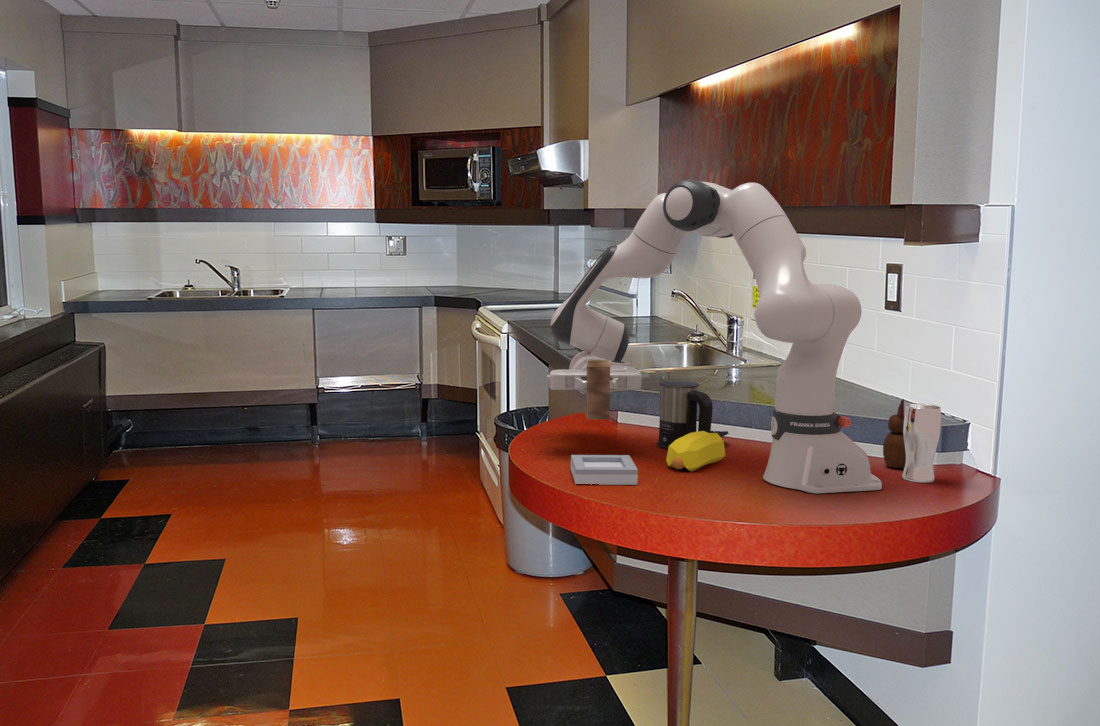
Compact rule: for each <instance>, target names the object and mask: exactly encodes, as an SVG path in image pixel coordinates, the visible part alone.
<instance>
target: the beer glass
mask: <svg viewBox="0 0 1100 726" xmlns="http://www.w3.org/2000/svg"><path fill="white" fill-rule="evenodd" d="M941 410H942V407H941V406H938V405H935V404H929V403H916V402H915V403H907V404H905V408H904V423H903V438H904V447H905V467H904V468H903V471H902V475H901V478H902V479H903V480H906V481H908V482H912V483H919V484H920V483H921V484H928V483H934V481H935V474H934V461H935V456H936V452H937V448H938V446H939V445H938V444H939V441H940V436H941V429H942V428H941V426H942V425H941V424H942V413H941V412H942V411H941Z"/></svg>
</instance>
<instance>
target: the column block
mask: <svg viewBox="0 0 1100 726" xmlns="http://www.w3.org/2000/svg"><path fill="white" fill-rule="evenodd" d="M610 367H611V363H610V362H609V361H608V360H587V381H588V385H587V386H588V389H586V395H585V416H586V419H587V420H604V421H605V420H610V400H611V399H610V397H611V395H610V394H611V392H610Z"/></svg>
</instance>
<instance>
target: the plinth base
mask: <svg viewBox="0 0 1100 726" xmlns="http://www.w3.org/2000/svg"><path fill="white" fill-rule="evenodd" d="M570 471H571V474H572V477H573V481H574V485H576V484H591V485H592V484H599V486H600V485H601V486H604V485H605V486H611V485H612V486H614V485H615V486H626V485H627V486H628V485H629V486H638V479H639V478H638V477H639V476H638V475H639V474H638V473H639V472H638V471H639V470H638V468H637V465H636V464H635V462H634V461H633V459H632V457H631V456H630V455H629V454H622V455H621V454H571V455H570ZM592 486H593V485H592Z"/></svg>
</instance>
